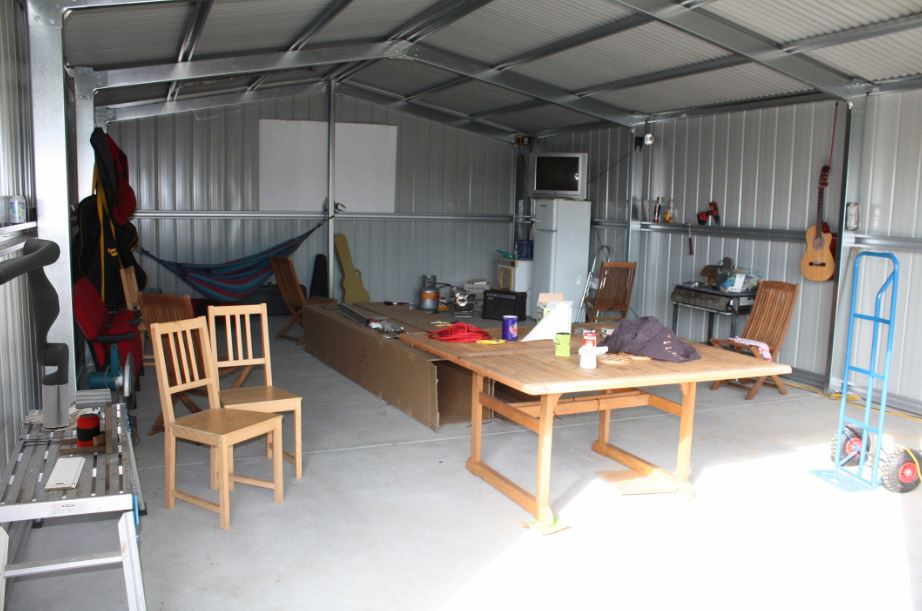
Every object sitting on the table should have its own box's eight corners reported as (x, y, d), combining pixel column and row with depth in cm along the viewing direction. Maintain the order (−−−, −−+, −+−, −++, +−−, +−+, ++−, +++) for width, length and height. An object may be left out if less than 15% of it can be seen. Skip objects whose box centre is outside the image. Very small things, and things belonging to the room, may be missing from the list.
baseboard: (90, 460, 271) (58, 462, 268) (90, 452, 271) (58, 454, 267) (80, 490, 243) (44, 493, 239) (80, 481, 242) (43, 484, 239)
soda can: (93, 443, 288) (92, 411, 286) (104, 447, 284) (103, 415, 282) (73, 447, 282) (72, 415, 280) (84, 452, 277) (83, 419, 276)
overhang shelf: (112, 453, 277) (111, 401, 275) (58, 458, 270) (57, 404, 268) (110, 437, 295) (109, 388, 293) (60, 442, 288) (59, 391, 286)
